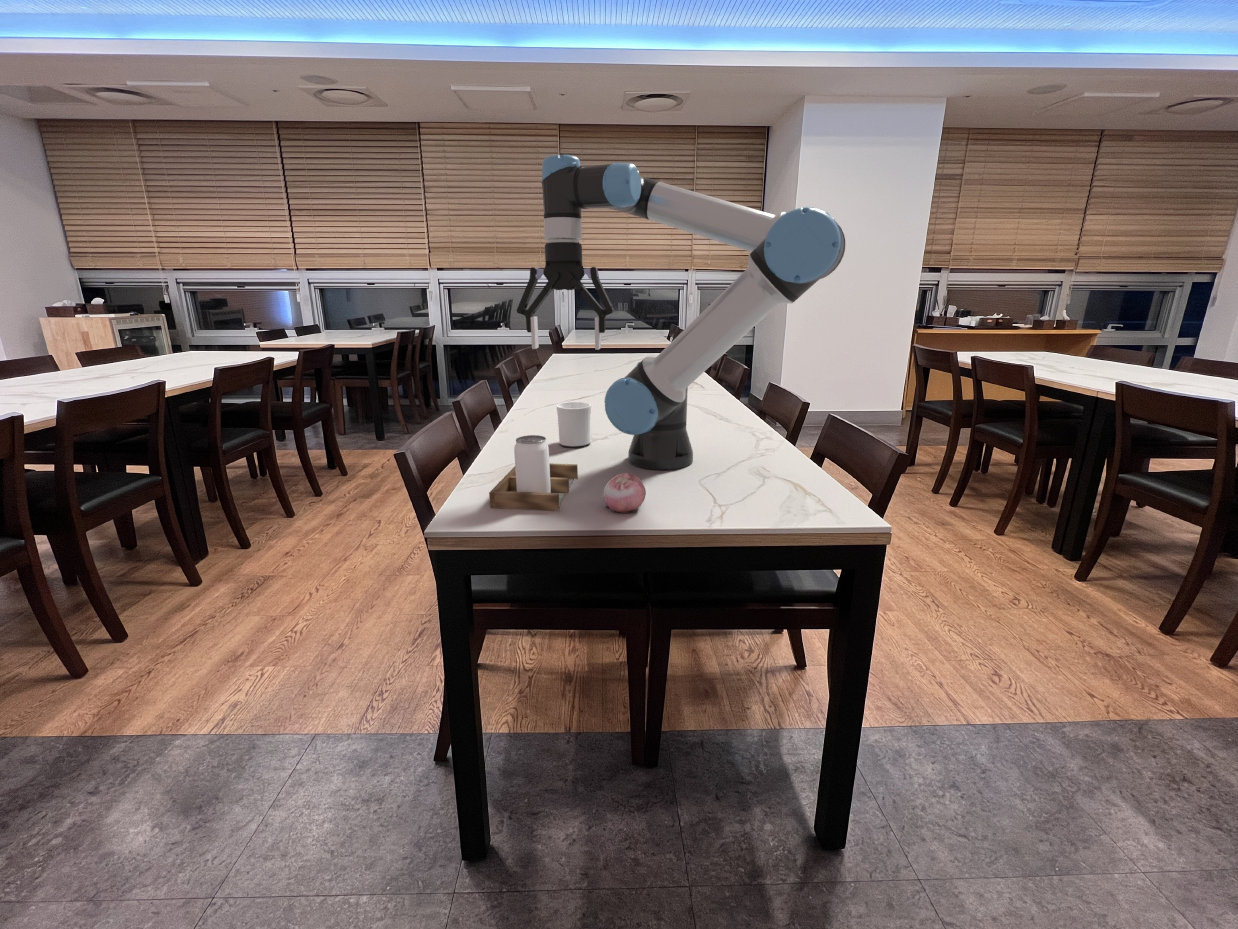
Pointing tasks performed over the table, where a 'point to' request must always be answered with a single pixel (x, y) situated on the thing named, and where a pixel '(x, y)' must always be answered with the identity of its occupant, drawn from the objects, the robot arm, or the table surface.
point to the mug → (574, 424)
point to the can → (532, 464)
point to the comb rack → (559, 486)
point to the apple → (624, 493)
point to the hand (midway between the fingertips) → (566, 348)
